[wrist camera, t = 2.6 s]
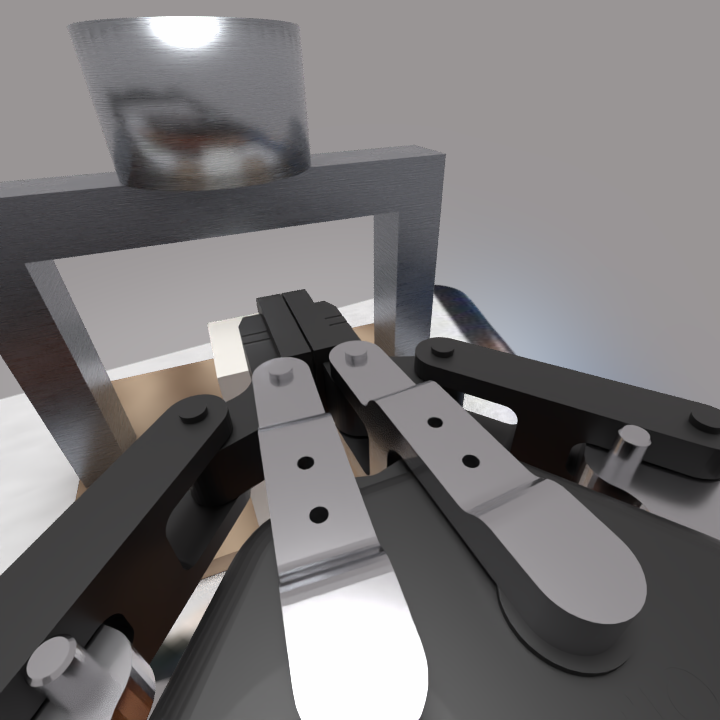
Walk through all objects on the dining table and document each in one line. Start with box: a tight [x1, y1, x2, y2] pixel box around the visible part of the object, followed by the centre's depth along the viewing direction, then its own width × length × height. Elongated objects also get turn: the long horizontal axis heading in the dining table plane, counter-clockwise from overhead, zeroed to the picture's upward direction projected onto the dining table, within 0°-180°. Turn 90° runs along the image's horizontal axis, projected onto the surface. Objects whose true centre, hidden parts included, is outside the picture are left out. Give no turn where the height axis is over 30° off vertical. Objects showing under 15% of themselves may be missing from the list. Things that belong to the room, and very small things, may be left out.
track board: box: [75, 323, 374, 579], centre depth 34 cm, size 27×21×2 cm
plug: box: [208, 313, 335, 527], centre depth 24 cm, size 5×6×12 cm
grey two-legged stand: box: [0, 17, 446, 488], centre depth 26 cm, size 26×10×24 cm, turn 112°
